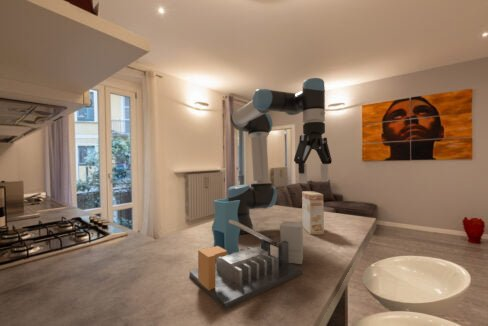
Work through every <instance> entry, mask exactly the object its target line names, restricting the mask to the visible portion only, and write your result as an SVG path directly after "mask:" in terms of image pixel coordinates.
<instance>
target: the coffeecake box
mask: <svg viewBox="0 0 488 326" xmlns="http://www.w3.org/2000/svg"><path fill="white" fill-rule="evenodd" d="M301 196H302V197H301V202H302V204H301V205H302V207H301V212H302V216H301V217H302V220H301V222H302V226H303V228H304V229H305V230H306V232H307V233H308V234H309V235H320V236H321V235H325V227H324V224H325V222H324V221H325V220H324V218H325V217H324V215H325V212H324V211H325V210H324V209H325V208H324V205H325V204H324V194H323V193H320V192H317V191H313V190H309V191H308V190H307V191H306V190H305V191H301Z"/></svg>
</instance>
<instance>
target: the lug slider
mask: <svg viewBox="0 0 488 326" xmlns="http://www.w3.org/2000/svg"><path fill="white" fill-rule="evenodd" d="M197 254H198V255H197V260H198V261H197V263H198V264H197V269H198V281H199V282H200V283H201V284H202V285H203V286H204V287H206V288H207V289H208V290H211V289H213V288H215V263H216V259H217V257H223V256H224V255H227V251H226V250H225V249H223V248H221V247H219V246H215V247H213V246H212V247H209V248H201V249H198V250H197Z"/></svg>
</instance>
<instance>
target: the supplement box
mask: <svg viewBox="0 0 488 326" xmlns="http://www.w3.org/2000/svg"><path fill="white" fill-rule="evenodd" d="M303 228H304V227H303V225H302V221H289V220H287V221H286V220H283V221H282V223H281V224H280V225H279V231H280V234H279V236H280V240H279V242H282V241H287V242H288V255H289V263H290V264H295V265H296V264H297V265H303V259H304V234H303V231H304V230H303Z"/></svg>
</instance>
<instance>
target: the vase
mask: <svg viewBox="0 0 488 326" xmlns="http://www.w3.org/2000/svg"><path fill="white" fill-rule="evenodd" d="M239 203H240V200H237V201H231V202H228V199H227V198H221V199H214V200H213V206H214V219H213V223H212V225H211V231H212V234H213V235H212V236H213V246H212V247H215V246H219V247H221V248H223V249H225V250H226V251H227V253H228V254H229V255H230V254H233V251H236V252H240V249H239V238H240V237H239V236H240V234H239V233H240V228H238V227H236V226H234V225H232V224H230V223H228V222H229V220H233V221H236V222H238V223H239V221H238V215H237V213H238V207H239ZM224 256H225V255H224Z"/></svg>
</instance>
